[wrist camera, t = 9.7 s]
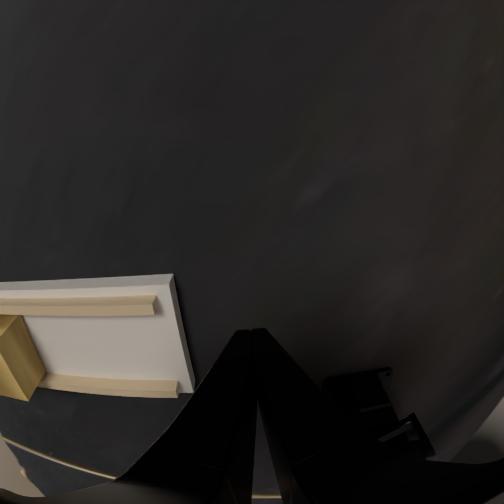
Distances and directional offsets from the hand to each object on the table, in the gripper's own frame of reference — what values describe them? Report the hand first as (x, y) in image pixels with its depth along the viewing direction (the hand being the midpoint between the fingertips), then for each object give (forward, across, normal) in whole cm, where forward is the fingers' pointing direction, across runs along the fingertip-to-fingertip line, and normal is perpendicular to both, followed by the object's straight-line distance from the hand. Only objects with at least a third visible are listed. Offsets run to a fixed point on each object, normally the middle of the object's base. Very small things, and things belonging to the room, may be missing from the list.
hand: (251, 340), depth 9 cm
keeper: (+10, +22, +8) cm, 25 cm away
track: (+12, +16, +8) cm, 22 cm away
